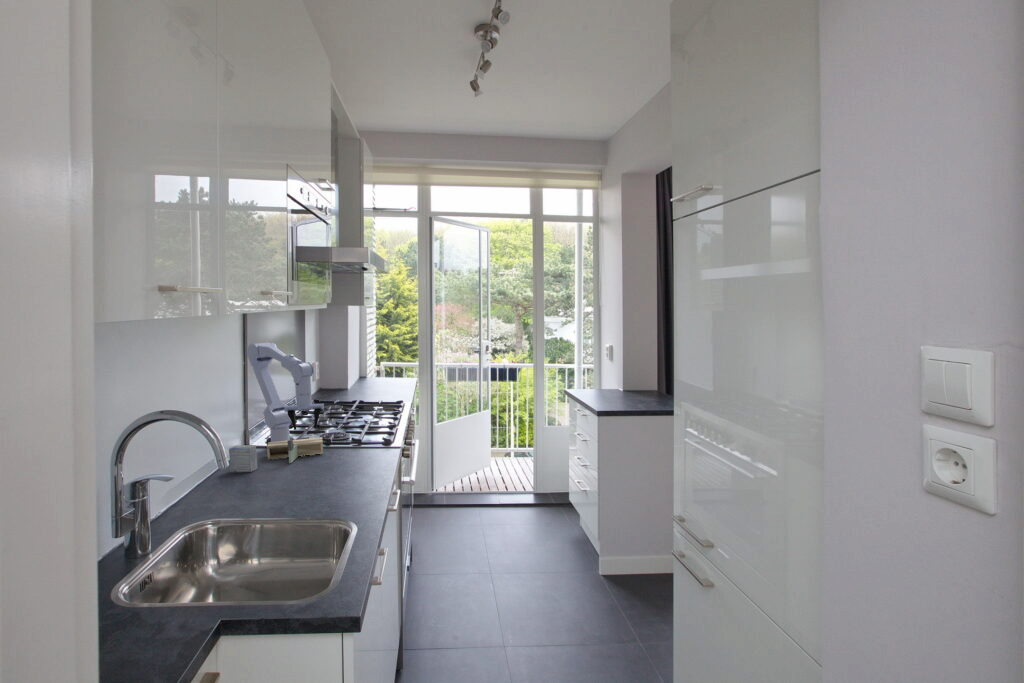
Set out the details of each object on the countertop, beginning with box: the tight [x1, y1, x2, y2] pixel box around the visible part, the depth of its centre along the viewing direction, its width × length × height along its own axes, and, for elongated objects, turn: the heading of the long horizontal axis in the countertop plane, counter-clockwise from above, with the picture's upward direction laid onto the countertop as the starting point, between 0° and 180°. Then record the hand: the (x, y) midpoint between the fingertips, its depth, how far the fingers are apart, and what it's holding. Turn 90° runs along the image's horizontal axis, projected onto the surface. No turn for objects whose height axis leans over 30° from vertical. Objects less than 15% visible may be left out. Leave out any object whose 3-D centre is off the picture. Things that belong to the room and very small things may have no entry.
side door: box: [287, 438, 299, 464], centre depth 230 cm, size 1×10×8 cm, turn 5°
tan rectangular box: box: [266, 437, 324, 461], centre depth 239 cm, size 8×20×5 cm, turn 108°
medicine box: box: [228, 444, 259, 473], centre depth 217 cm, size 8×4×9 cm, turn 84°
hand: (305, 428), depth 242 cm, fingers open, 7 cm apart
